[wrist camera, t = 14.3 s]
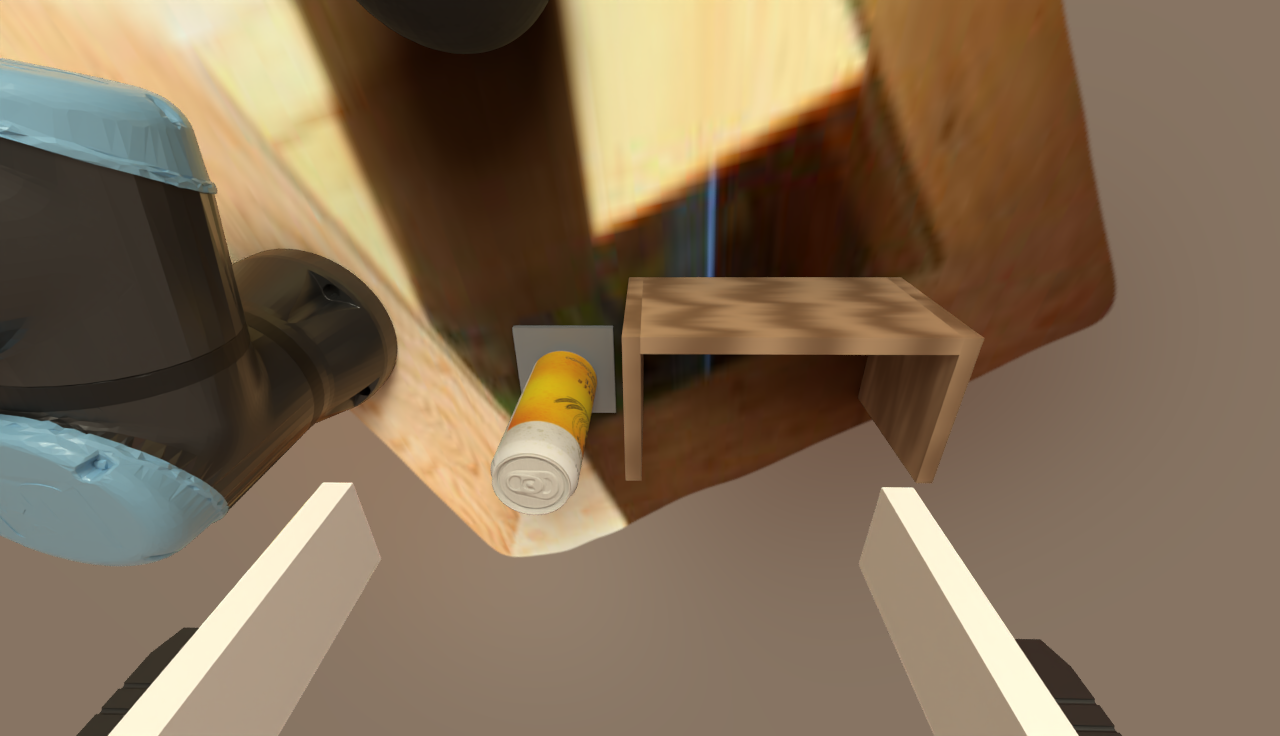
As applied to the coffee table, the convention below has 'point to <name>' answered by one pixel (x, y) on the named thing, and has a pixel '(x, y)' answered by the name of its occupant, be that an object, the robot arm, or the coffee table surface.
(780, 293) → the wooden monitor riser
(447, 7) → the decorative egg
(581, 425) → the beer can
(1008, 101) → the coffee table surface
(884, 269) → the coffee table surface
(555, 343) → the slate coaster
